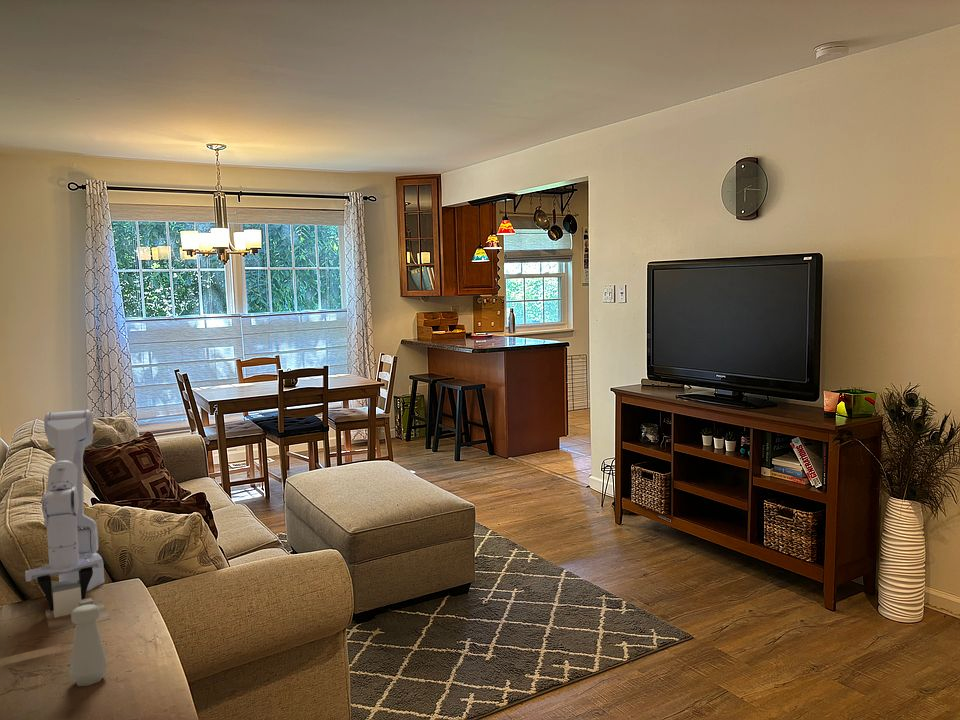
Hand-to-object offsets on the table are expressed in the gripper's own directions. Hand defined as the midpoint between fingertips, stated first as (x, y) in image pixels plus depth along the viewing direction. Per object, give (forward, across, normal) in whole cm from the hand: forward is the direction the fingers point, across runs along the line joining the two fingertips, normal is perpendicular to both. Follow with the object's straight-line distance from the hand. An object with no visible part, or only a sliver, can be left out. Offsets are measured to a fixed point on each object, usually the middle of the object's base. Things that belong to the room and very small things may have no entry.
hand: (67, 606), depth 158 cm
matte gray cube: (+1, 0, 0) cm, 1 cm away
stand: (+2, +2, -4) cm, 5 cm away
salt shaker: (+2, 0, -39) cm, 39 cm away
